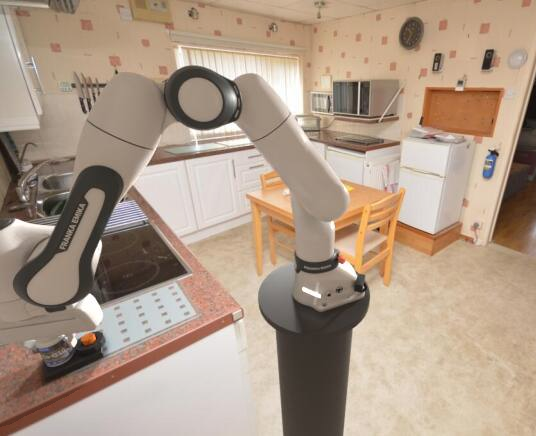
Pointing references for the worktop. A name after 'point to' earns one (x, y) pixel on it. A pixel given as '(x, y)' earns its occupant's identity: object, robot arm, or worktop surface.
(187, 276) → the worktop surface
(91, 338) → the tare button
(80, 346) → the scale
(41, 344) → the pill bottle
